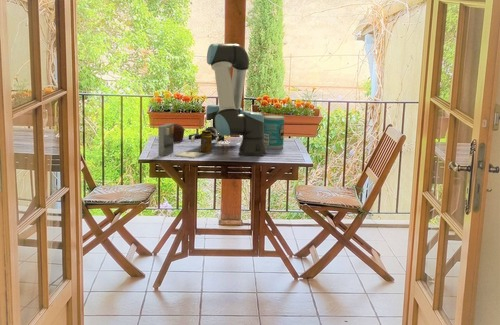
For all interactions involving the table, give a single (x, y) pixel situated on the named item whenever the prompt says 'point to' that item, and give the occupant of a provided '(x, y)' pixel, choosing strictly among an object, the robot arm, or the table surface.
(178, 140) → the muffin
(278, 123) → the food can
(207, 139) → the condiment
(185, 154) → the tile
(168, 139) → the breaker box
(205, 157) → the table surface
